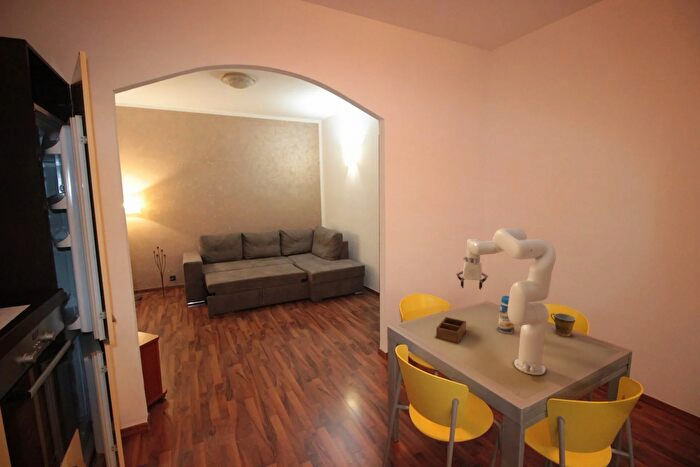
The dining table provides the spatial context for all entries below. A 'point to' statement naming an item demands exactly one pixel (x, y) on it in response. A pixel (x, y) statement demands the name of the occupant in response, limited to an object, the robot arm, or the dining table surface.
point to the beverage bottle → (505, 317)
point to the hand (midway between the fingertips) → (471, 288)
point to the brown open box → (451, 329)
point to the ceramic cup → (563, 323)
